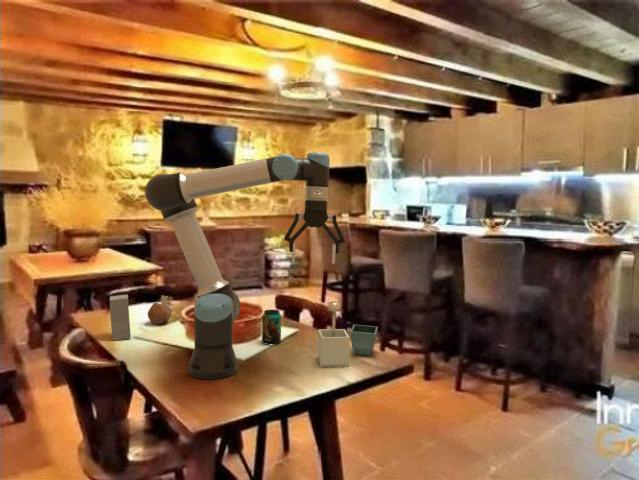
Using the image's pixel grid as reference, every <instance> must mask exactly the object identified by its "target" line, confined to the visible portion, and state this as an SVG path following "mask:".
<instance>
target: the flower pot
mask: <svg viewBox="0 0 639 480" xmlns="http://www.w3.org/2000/svg"><path fill="white" fill-rule="evenodd" d="M378 328H379V327H378V326H374V325H373V326H372V325H361V324H353V325H352V328H351V330H350V342H351V347H352V350H353V352H354V353H355V355H360V356H361V355H362V356H371V354H372V352H373V350H374V349H375V344H376V340H377V335H378V334H377V333H378Z"/></svg>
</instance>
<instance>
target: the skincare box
mask: <svg viewBox="0 0 639 480" xmlns="http://www.w3.org/2000/svg"><path fill="white" fill-rule="evenodd" d="M109 311H110V325H111V337H112V338H111V339H112V341H121V340H122V341H123V340H124V341H125V340H131V322H130V311H129V295H128V294H119V295H112V296H111V295H110V296H109Z"/></svg>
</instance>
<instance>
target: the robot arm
mask: <svg viewBox="0 0 639 480" xmlns="http://www.w3.org/2000/svg"><path fill="white" fill-rule="evenodd" d="M306 154H307V155H306V157H305V158H300V157H299V158H297V157H294V155H291V154H288V153H282V154H279V155H275V156H272V157H268V158H263V159H258V160H257V159H256V160H252V161H247V162H241V163H238V164H233V165H227V166H222V167H218V168H212V169H207V170H203V171H198V172H193V173H192V172H191V173H188V174H186V173H185V172H182V171H181V172H175V173H161V174H157V175H155V176H153V177H150V179H149V180H148V181H147V183H146V185H145V188H144V197H145V199H146V202H147V203H148V205H150V206H151V207H152V208H153V209H155V210H157V211H160V213H161V216H162V218H163V221H165V222H167V223H170V224H171V227H172V230H173V232H174V235H175V236H176V239H177V241H178V244H179V245H180V248H181V250H182V252H183V254H184V257H185V261H186V262H187V265H188V267H189V269H190V271H191V274H192V276H193V278H194V280H195V284H196V285H197V288H198V291H197V293H196V297H197V298H196V300H195V301H194V308H193V315H194V316H193V317H194V318H193V319H194V328H193V330H194V331H193V332H194V336H193V337H194V348H193V351H192V354H191V357H190V360H189V363H188V374H189V375H190V376H191V377H193V378H196V379H202V380H218V379H224V378H228V377H230V376H233V375H234V374H236V373H237V371H238V369H239V368H238V367H239V365H238V364H239V363H238V359H237V356H236V353H235V349H234V347H233V324H234V322H235V321H236V320H237V318H238V316H239V315H240V311H241V300H240V298H239V296H238V294H237V293H236V292H235V291H234V290H233V288H232V285H231V283H230V281H228V280H225V279H224V278H223V276H222V274H221V272H220V269H219V266H218V264H217V262H216V259H215V257H214V255H213V253H212V250H211V248H210V244H209V242H208V241H207V238H206V236H205V233H204V231H203V228H202V227H201V223H200V221H199V219H198V217H197V210H198V205H197V202H196V199H199V198H204V197H209V196H213V195H219V194H223V193H229V192H232V191H238V190H242V189H247V188H252V187H256V186H262V185H266V184H273V183H277V182H282V181H295V182H296V181H297V182H305V193H304V194H305V197H304V198H305V200H304V213H303V214H301V213H299V212H295V215H294V220H293V221H292V223H291V225H290V227H289V228H288V230H287V232H286V234H285V235H284V240H285V241H287V242H289V243H288V245H289V247H288V250H289V253H292V255H291V256H292V257H291V262H292V263H295V262H296V260H295V259H296V242H295V241H296V240H297V239H298V238H299V236H301V234H302V233H303V232H304V231H305V230H306V229H307V228H308V227H309V228H319V229H320V228H323V229H324V231H325V232H326V233H327V234H328V236H329V237H330V239H331V240H332V241H333V242H334V243H332V248H331V249H332V251H331V264H332V265H334V264H335V263H336V255H338V254H339V252H340V251H339V249H340V245H341V244H343V243H345V242H346V241H345V238H344V236H343V234H342V231H341V229H340V227H339V224H338V222H337V215H335V214H332V215H329V214H328V201H327V200H328V195H329V178H330V155H329V154H328V153H325V152H308V153H306ZM302 218H303V221H304V223H303V224H302V226H300V227H299V229H298V230H297V231H296V232H295V233H294V234H293V231H294V230H295V228H296V226H297V224H298V223H299V221H301V219H302ZM328 221H330V222H331V223H332V225H333V227H334V229H335V231H336V234H337V236H338V238H337V237H336V236H335V234H334V233H333V231H332V230H331V229H330V228H329V226H328V225H327V224H326V223H327V222H328ZM292 234H293V235H292ZM291 235H292V236H291Z"/></svg>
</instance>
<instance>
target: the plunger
mask: <svg viewBox="0 0 639 480" xmlns="http://www.w3.org/2000/svg"><path fill="white" fill-rule="evenodd" d="M327 304H328V305H327V306H328V307H327V311H328V312H332V317H331V318H332V322H331V323H332V325H331V326H332V327H331V329H332V337H335V329H336V316H337V315H336V313H337V312H340V311H341V302H340V301H338V300H337V301H333V300H331V301H328V303H327Z"/></svg>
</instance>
